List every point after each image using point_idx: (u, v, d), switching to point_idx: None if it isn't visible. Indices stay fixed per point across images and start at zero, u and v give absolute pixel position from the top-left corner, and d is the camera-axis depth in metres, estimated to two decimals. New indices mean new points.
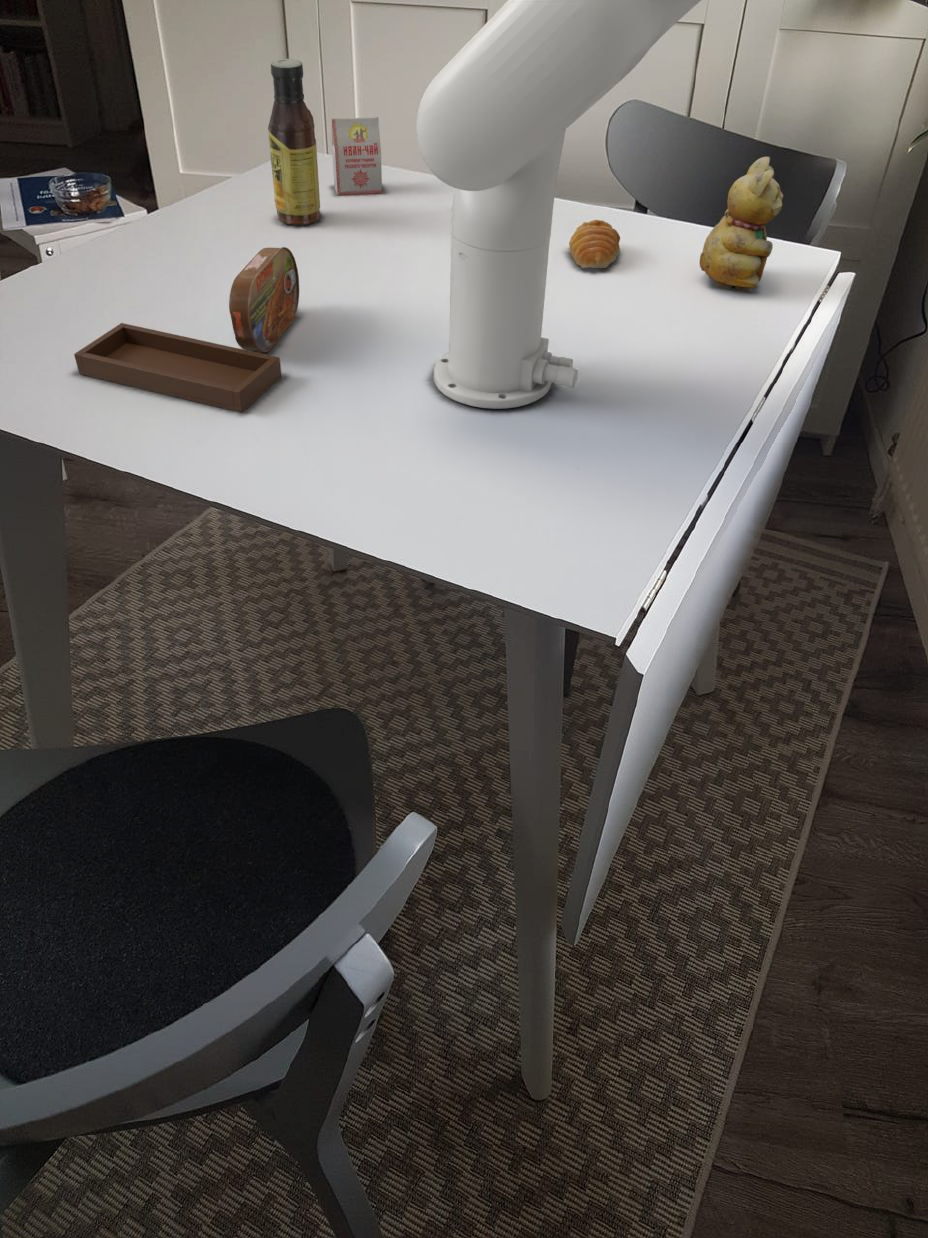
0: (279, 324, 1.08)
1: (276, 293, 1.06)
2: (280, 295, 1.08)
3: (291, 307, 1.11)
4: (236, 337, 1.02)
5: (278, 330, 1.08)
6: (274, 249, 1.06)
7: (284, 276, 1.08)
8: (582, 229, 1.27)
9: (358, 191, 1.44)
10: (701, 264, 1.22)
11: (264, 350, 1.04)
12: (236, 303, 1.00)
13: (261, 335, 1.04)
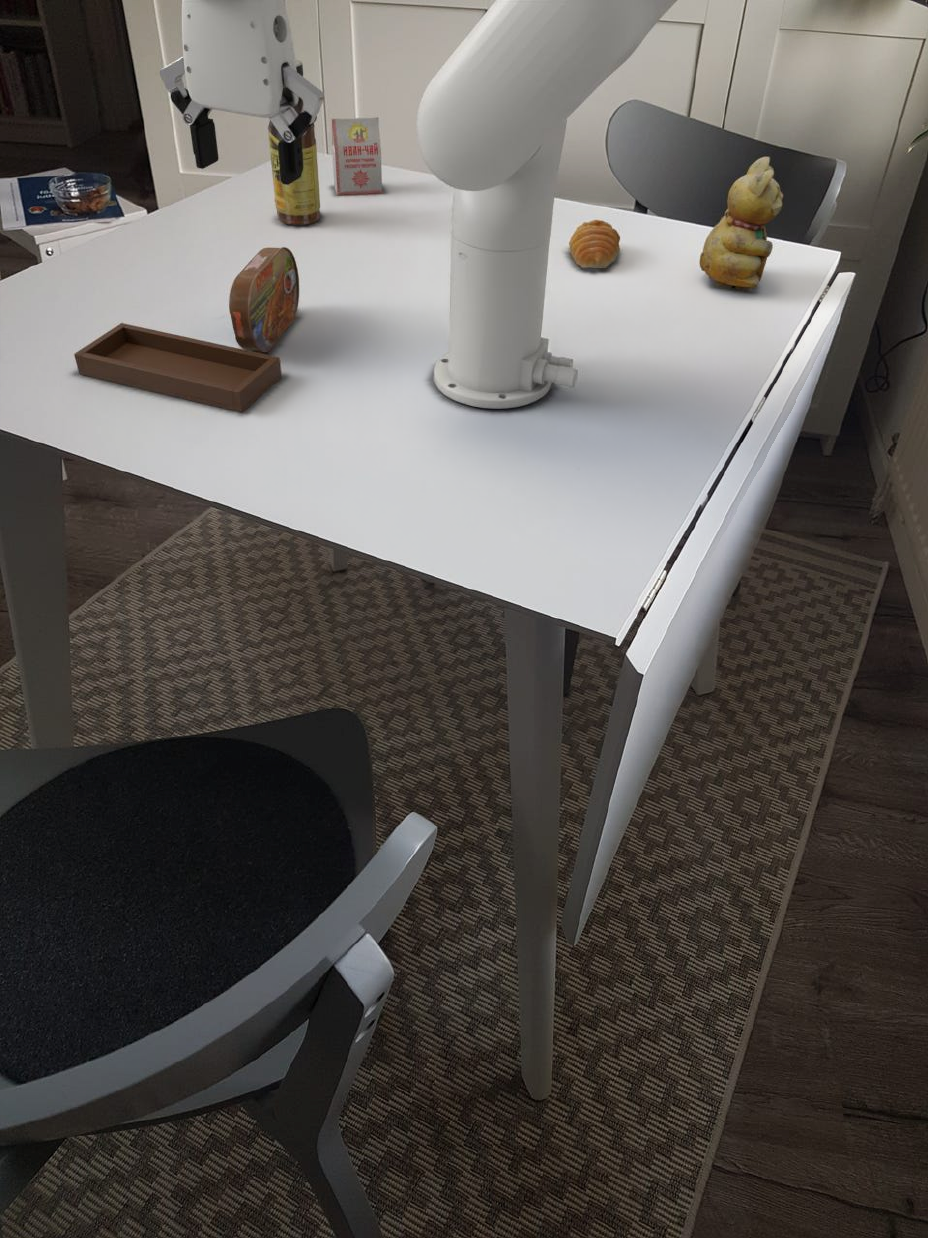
0: (279, 324, 1.08)
1: (276, 293, 1.06)
2: (280, 295, 1.08)
3: (291, 307, 1.11)
4: (236, 337, 1.02)
5: (278, 330, 1.08)
6: (274, 249, 1.06)
7: (284, 276, 1.08)
8: (582, 229, 1.27)
9: (358, 191, 1.44)
10: (701, 264, 1.22)
11: (264, 350, 1.04)
12: (236, 303, 1.00)
13: (261, 335, 1.04)
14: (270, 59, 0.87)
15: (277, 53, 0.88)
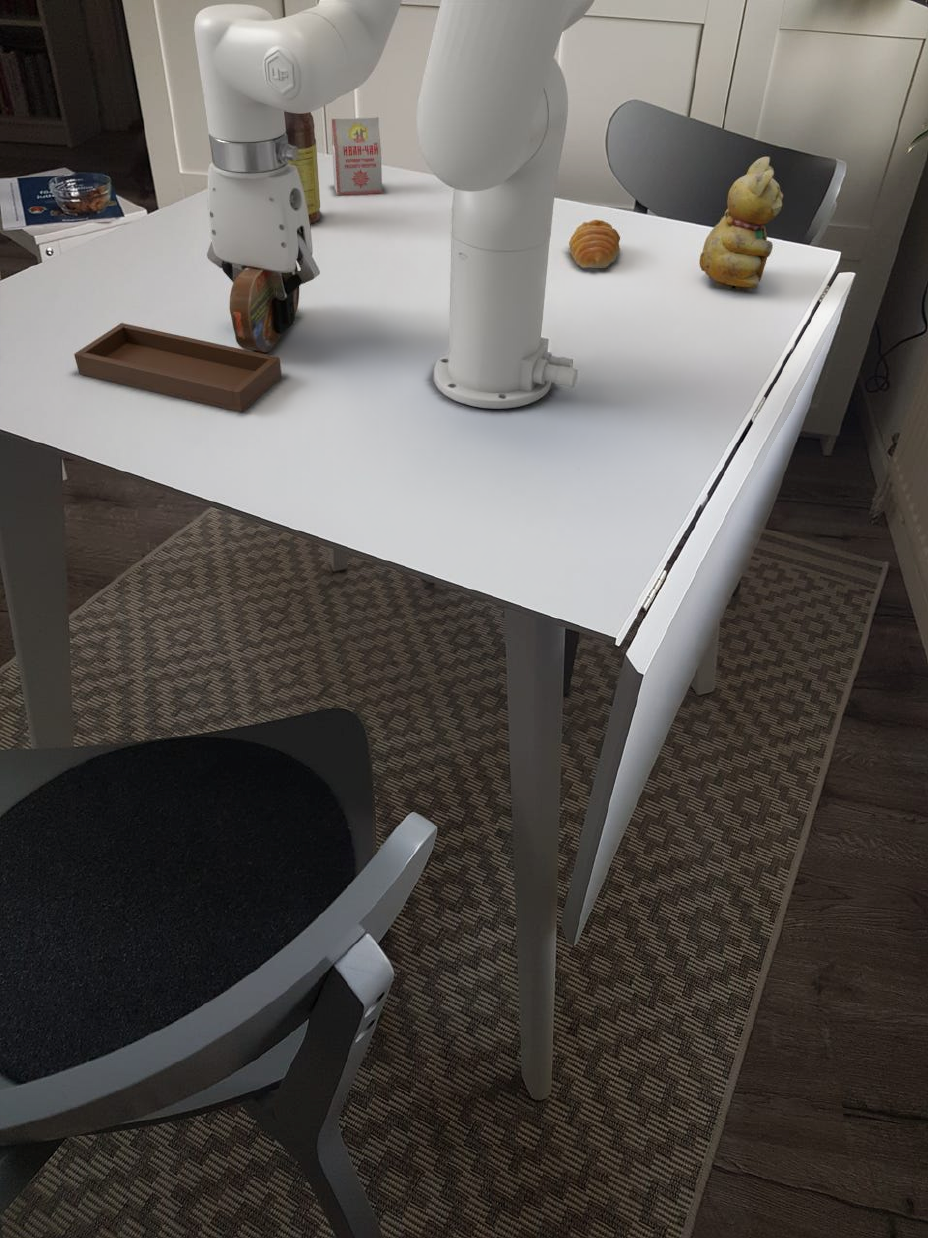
0: None
1: None
2: None
3: None
4: (236, 337, 1.02)
5: None
6: None
7: None
8: (582, 229, 1.27)
9: (358, 191, 1.44)
10: (701, 264, 1.22)
11: (264, 350, 1.04)
12: (236, 303, 1.00)
13: (261, 335, 1.04)
14: (287, 226, 0.97)
15: (293, 220, 0.98)
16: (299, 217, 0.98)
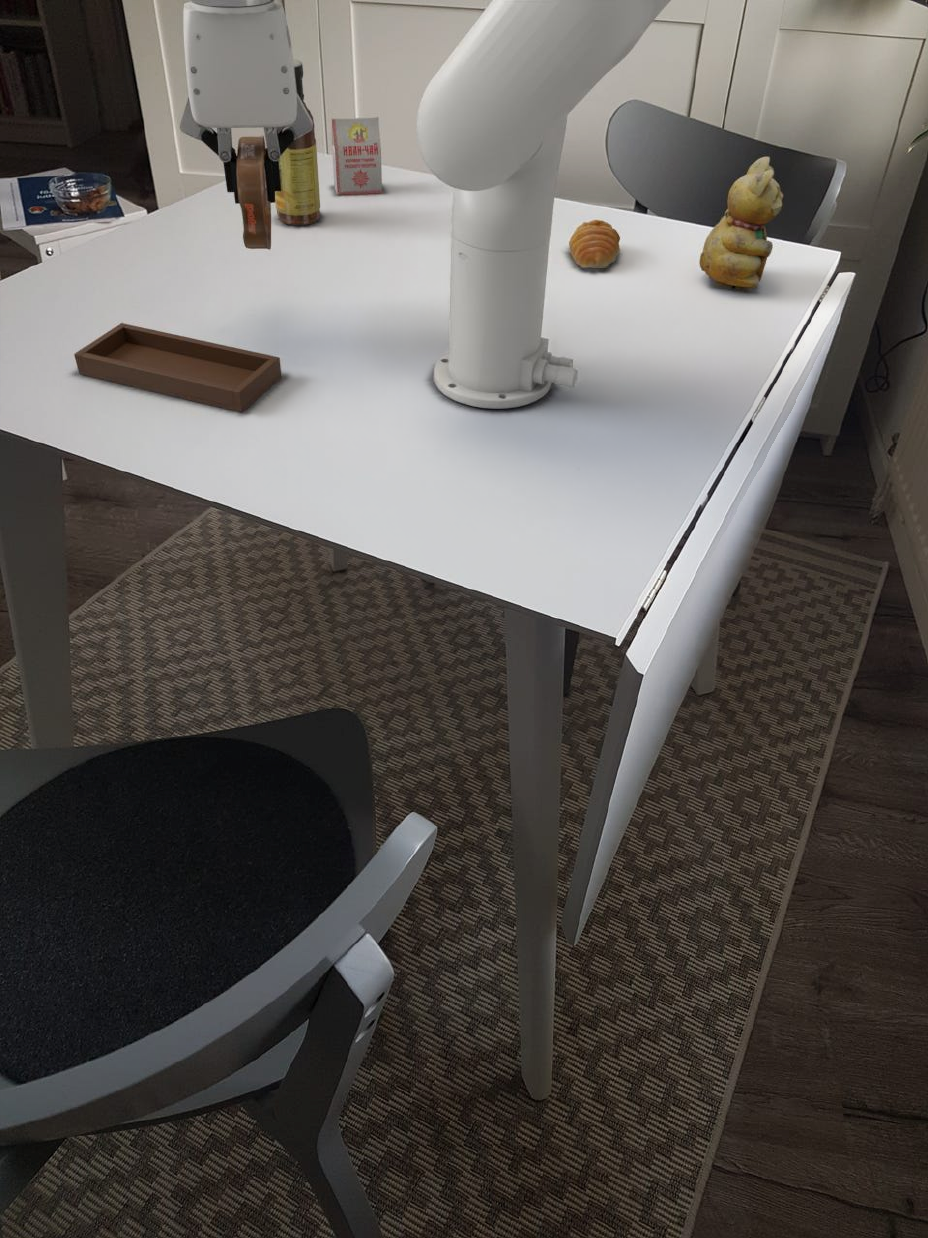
0: None
1: None
2: (264, 189, 1.00)
3: (266, 204, 1.04)
4: (246, 233, 0.94)
5: (267, 228, 1.01)
6: (255, 137, 0.98)
7: (264, 168, 1.00)
8: (582, 229, 1.27)
9: (358, 191, 1.44)
10: (701, 264, 1.22)
11: (270, 247, 0.97)
12: (247, 194, 0.92)
13: None
14: (289, 68, 0.90)
15: (291, 61, 0.90)
16: (292, 59, 0.91)
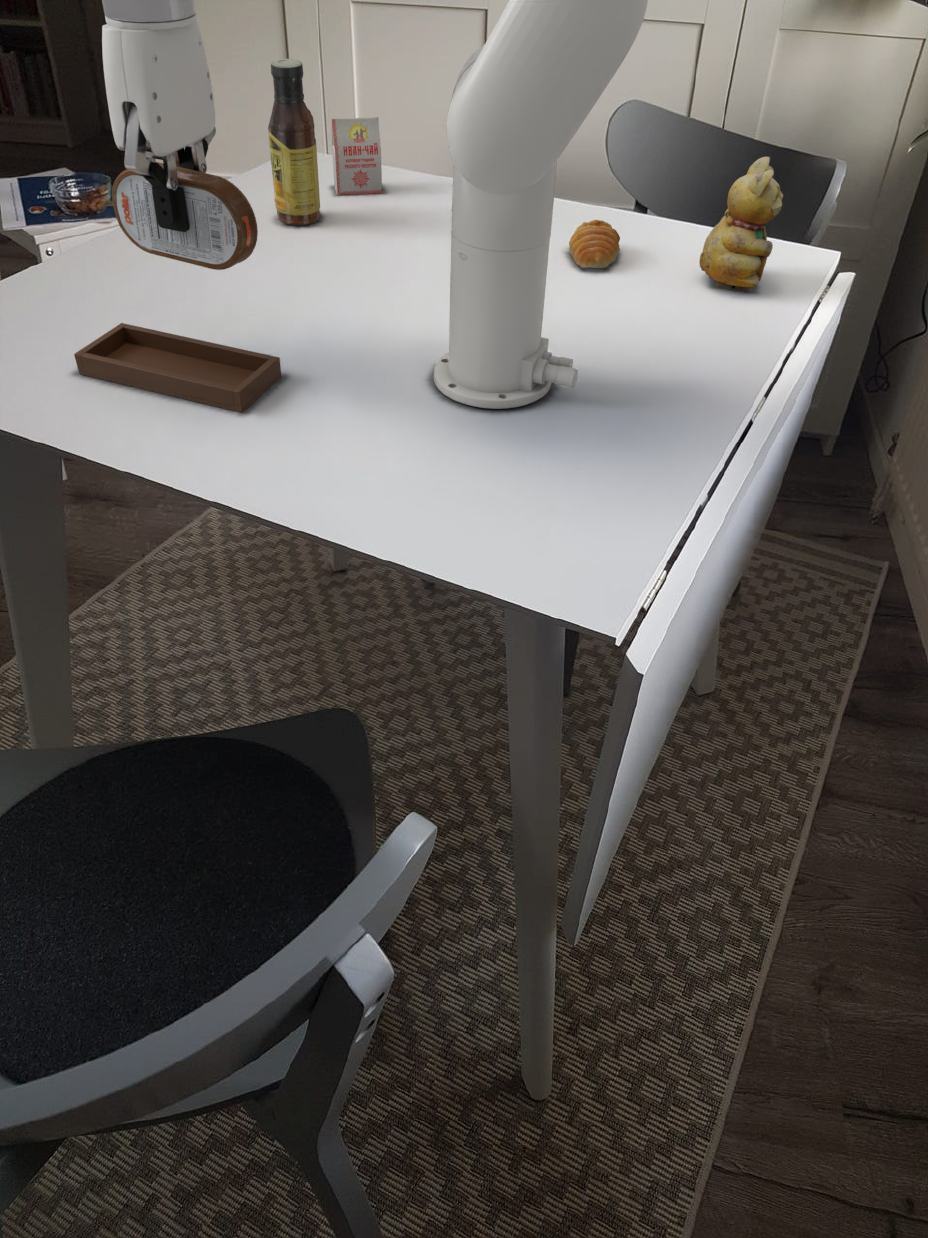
0: None
1: None
2: None
3: None
4: (244, 248, 0.91)
5: None
6: None
7: None
8: (582, 229, 1.27)
9: (358, 191, 1.44)
10: (701, 264, 1.22)
11: (242, 259, 0.95)
12: (239, 207, 0.89)
13: None
14: (208, 72, 0.88)
15: None
16: None
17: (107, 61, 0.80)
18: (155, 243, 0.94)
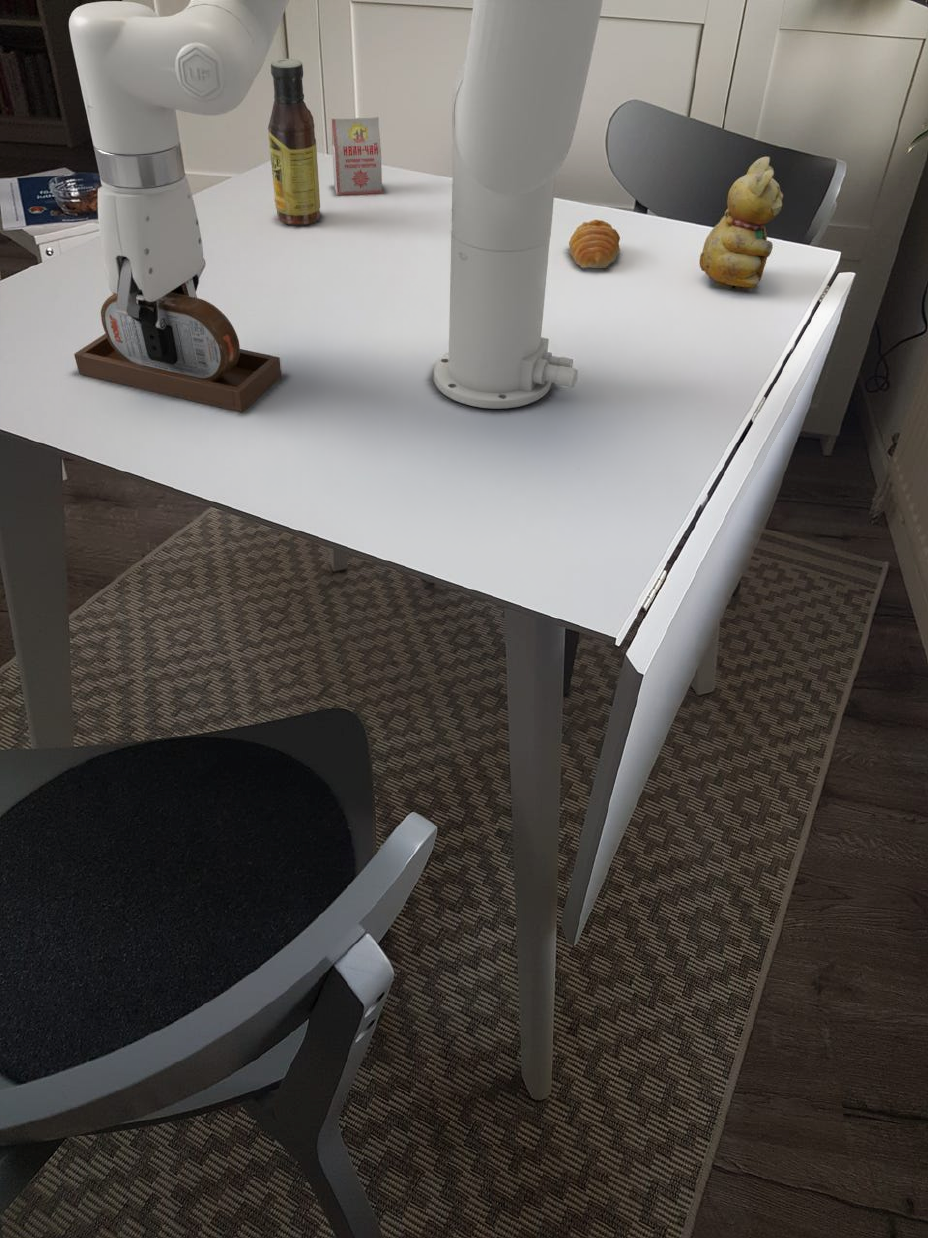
0: None
1: None
2: None
3: None
4: (227, 364, 0.96)
5: None
6: None
7: None
8: (582, 229, 1.27)
9: (358, 191, 1.44)
10: (701, 264, 1.22)
11: None
12: (220, 328, 0.94)
13: None
14: (197, 219, 0.93)
15: None
16: None
17: (102, 220, 0.86)
18: (145, 359, 0.99)
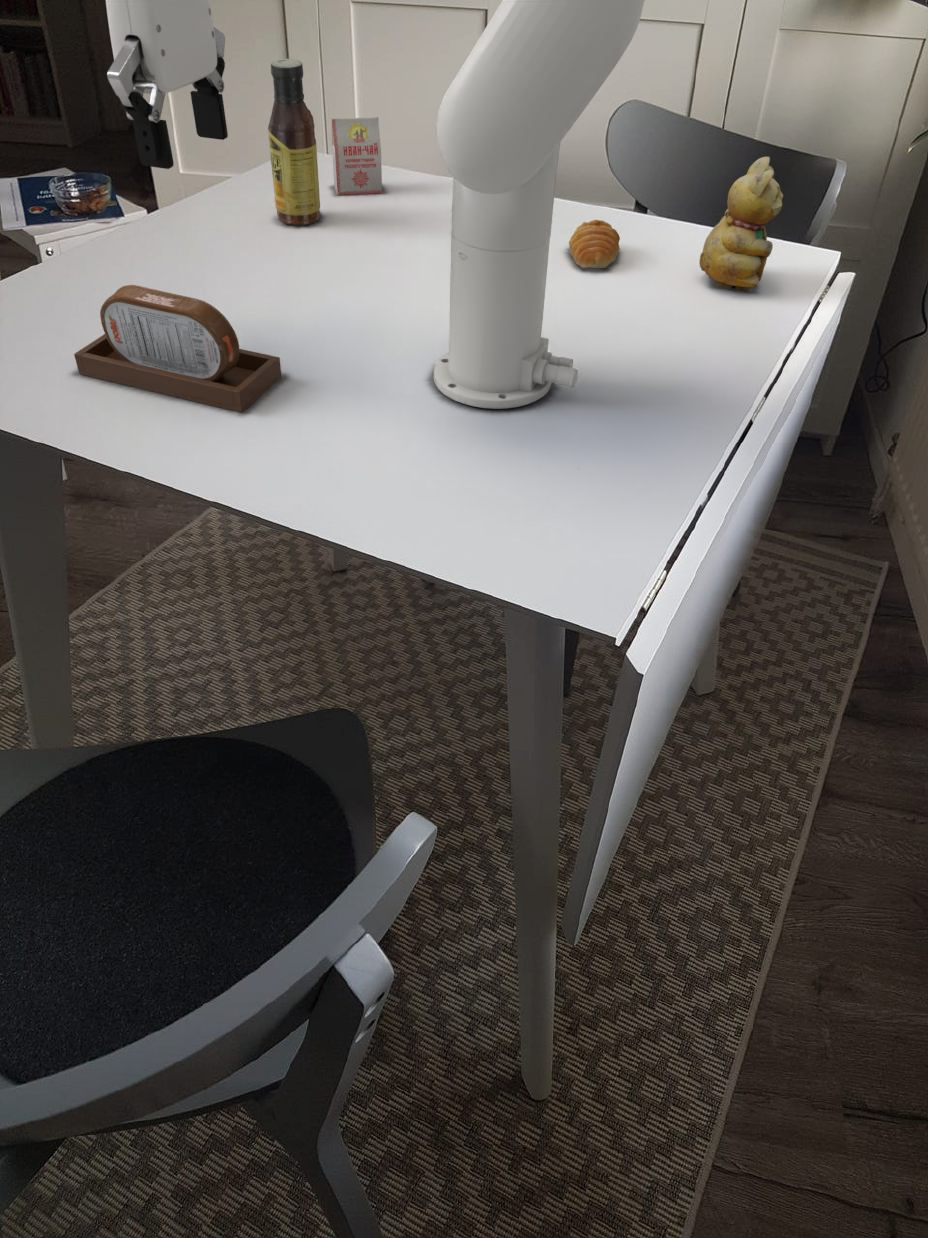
0: None
1: None
2: None
3: None
4: (227, 364, 0.96)
5: None
6: (130, 289, 0.96)
7: None
8: (582, 229, 1.27)
9: (358, 191, 1.44)
10: (701, 264, 1.22)
11: None
12: (219, 328, 0.94)
13: None
14: (210, 9, 0.87)
15: None
16: None
17: None
18: (145, 359, 0.99)
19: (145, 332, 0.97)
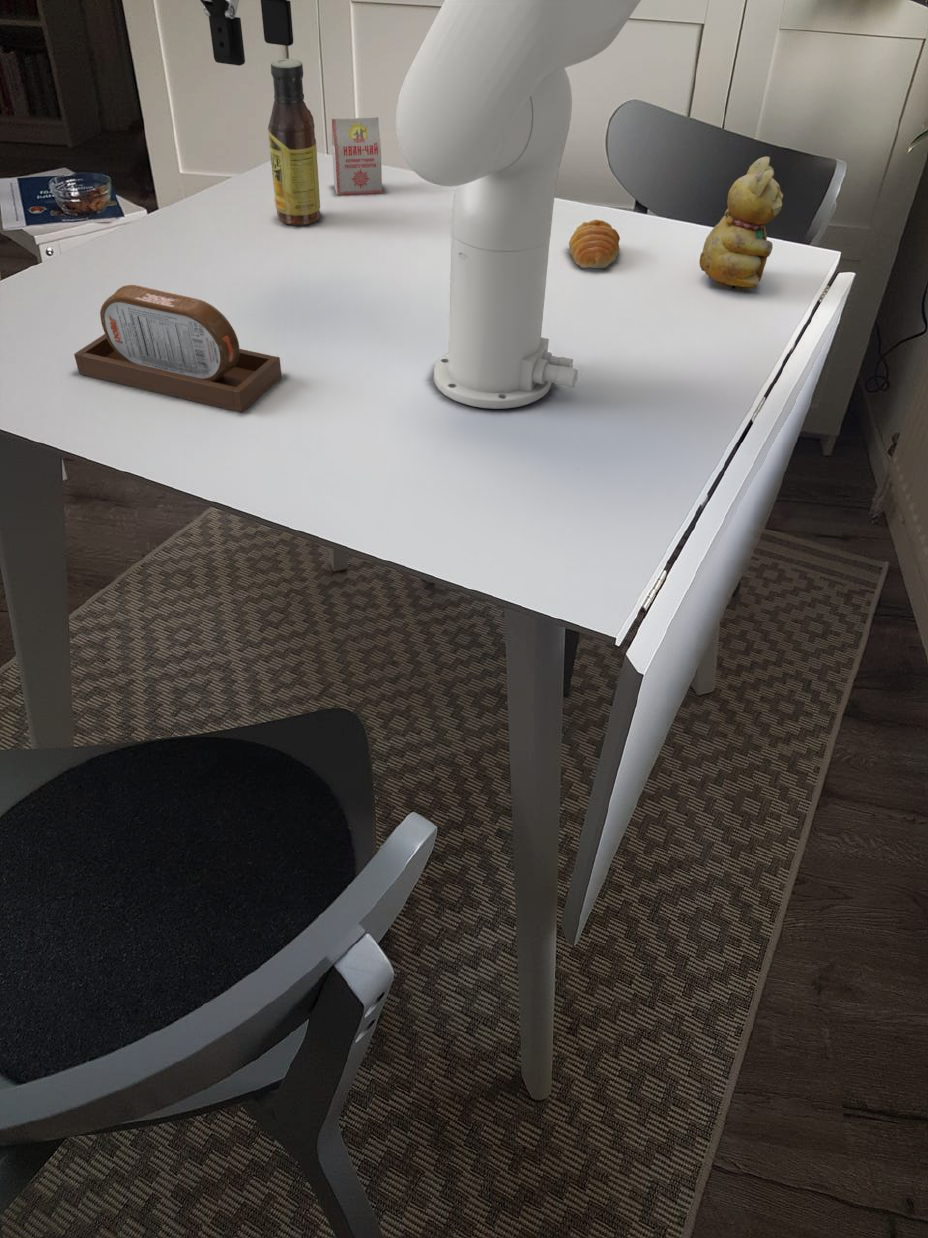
0: None
1: None
2: None
3: None
4: (227, 364, 0.96)
5: None
6: (130, 289, 0.96)
7: None
8: (582, 229, 1.27)
9: (358, 191, 1.44)
10: (701, 264, 1.22)
11: None
12: (219, 328, 0.94)
13: None
14: None
15: None
16: None
17: None
18: (145, 359, 0.99)
19: (145, 332, 0.97)
